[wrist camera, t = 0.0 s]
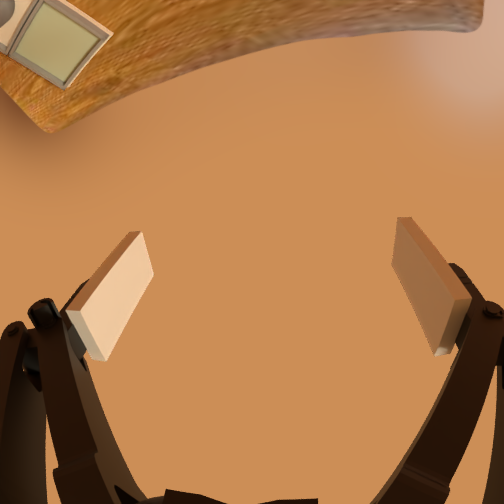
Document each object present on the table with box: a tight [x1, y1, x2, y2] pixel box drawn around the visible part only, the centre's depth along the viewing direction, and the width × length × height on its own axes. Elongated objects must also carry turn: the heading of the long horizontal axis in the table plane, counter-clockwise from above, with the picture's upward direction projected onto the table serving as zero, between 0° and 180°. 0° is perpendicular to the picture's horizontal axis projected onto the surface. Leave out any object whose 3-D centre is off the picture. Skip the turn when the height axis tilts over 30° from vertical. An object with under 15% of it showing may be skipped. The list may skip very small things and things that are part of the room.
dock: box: [0, 0, 114, 90], centre depth 27 cm, size 27×13×3 cm, turn 36°
